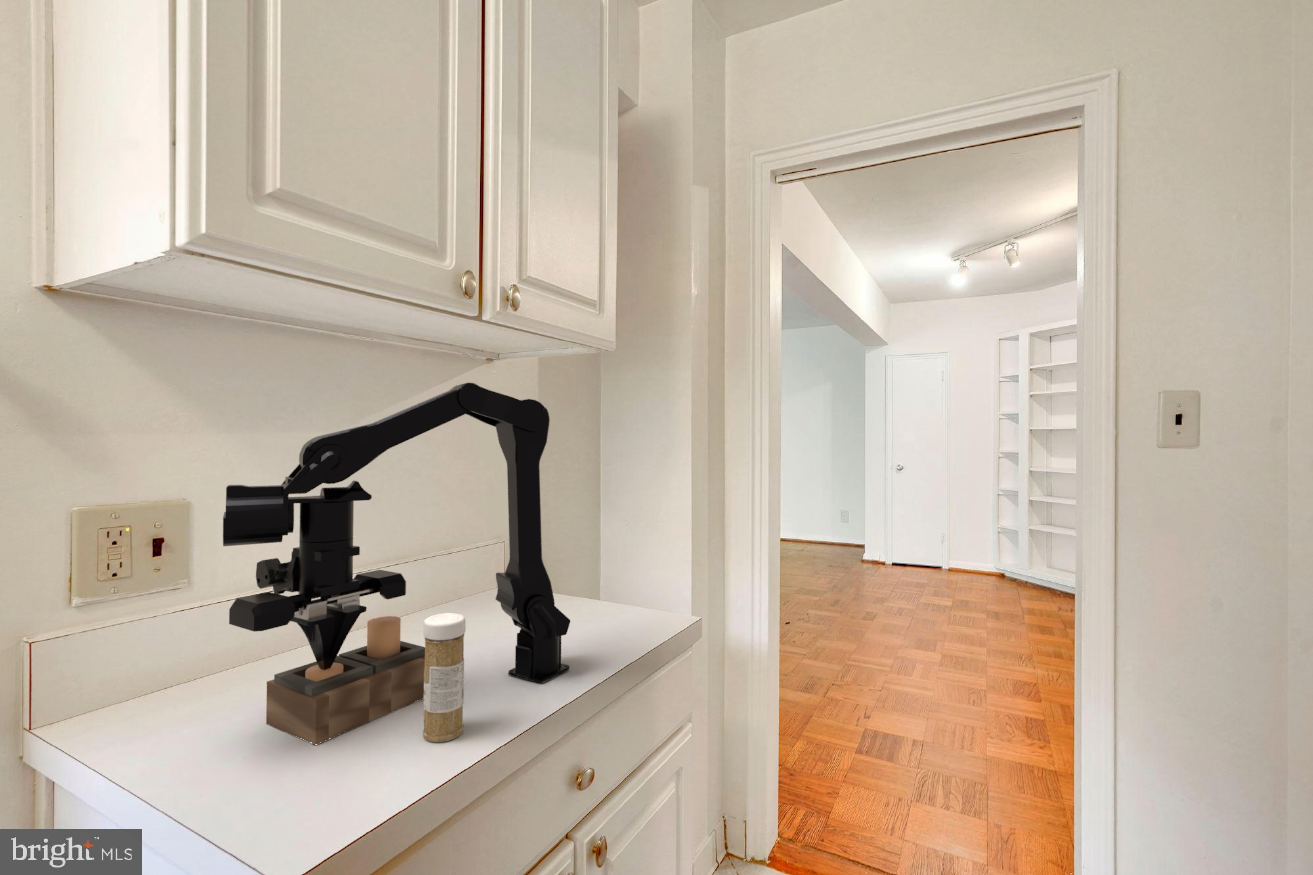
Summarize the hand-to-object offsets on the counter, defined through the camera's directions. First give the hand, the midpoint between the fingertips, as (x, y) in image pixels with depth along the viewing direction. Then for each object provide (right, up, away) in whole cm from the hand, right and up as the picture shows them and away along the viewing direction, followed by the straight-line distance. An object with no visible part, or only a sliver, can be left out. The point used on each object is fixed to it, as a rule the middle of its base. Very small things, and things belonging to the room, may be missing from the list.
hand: (325, 668), depth 73 cm
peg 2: (+4, -2, +7) cm, 8 cm away
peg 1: (0, -6, 0) cm, 6 cm away
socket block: (+2, -6, +3) cm, 7 cm away
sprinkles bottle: (+15, -7, -3) cm, 17 cm away
